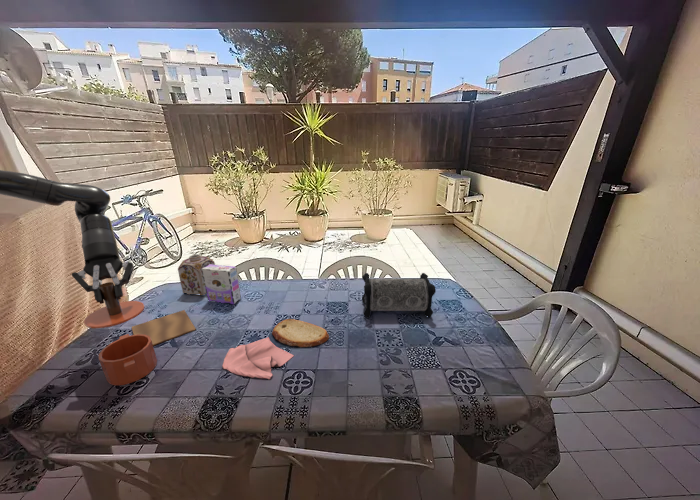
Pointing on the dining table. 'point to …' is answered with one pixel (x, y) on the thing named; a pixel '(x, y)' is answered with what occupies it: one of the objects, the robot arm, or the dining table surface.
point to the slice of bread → (299, 333)
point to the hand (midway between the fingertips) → (109, 300)
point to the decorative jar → (193, 274)
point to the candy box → (221, 283)
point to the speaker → (398, 295)
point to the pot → (128, 359)
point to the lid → (113, 310)
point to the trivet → (165, 327)
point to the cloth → (255, 359)
